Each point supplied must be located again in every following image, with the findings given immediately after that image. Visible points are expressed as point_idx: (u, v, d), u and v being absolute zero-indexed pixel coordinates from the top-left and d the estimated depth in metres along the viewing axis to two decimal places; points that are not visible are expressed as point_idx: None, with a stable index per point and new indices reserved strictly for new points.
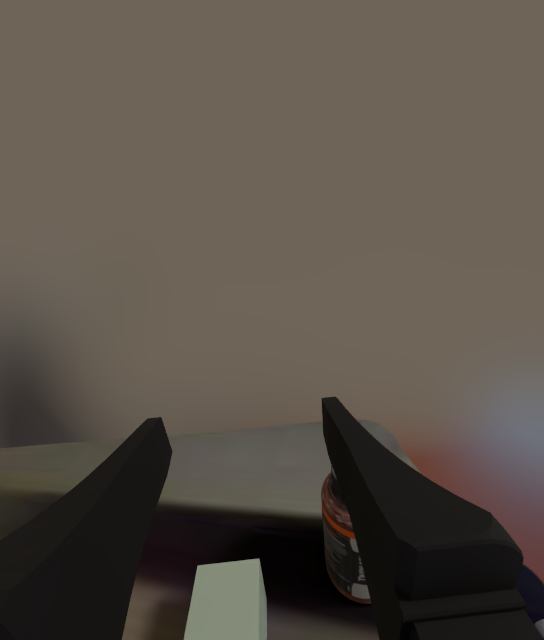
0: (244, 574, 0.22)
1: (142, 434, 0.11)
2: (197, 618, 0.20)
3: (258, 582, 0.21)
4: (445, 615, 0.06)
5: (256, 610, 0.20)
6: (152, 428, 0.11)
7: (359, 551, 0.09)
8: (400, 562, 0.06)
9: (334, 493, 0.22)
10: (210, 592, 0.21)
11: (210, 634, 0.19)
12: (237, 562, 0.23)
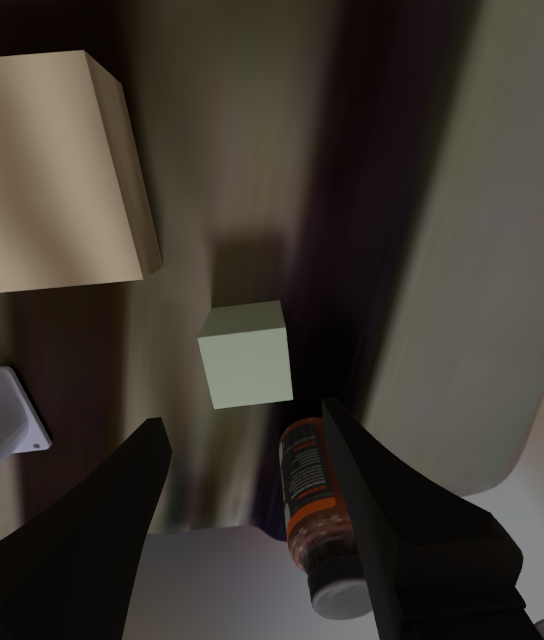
0: (275, 386, 0.17)
1: (142, 434, 0.11)
2: (228, 345, 0.16)
3: (267, 401, 0.18)
4: (445, 615, 0.06)
5: (240, 403, 0.18)
6: (152, 428, 0.11)
7: (359, 551, 0.09)
8: (400, 562, 0.06)
9: (330, 546, 0.16)
10: (255, 352, 0.16)
11: (216, 363, 0.17)
12: (290, 374, 0.17)
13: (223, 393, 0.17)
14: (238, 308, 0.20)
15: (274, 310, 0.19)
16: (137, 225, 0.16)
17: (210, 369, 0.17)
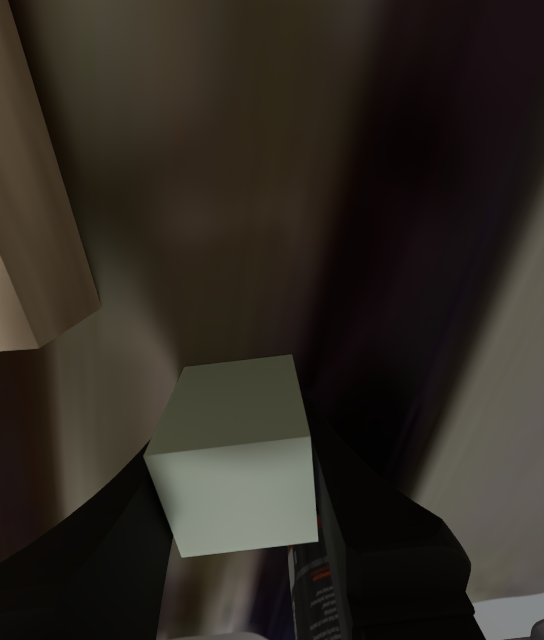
0: (288, 524, 0.10)
1: None
2: (203, 466, 0.09)
3: (274, 543, 0.10)
4: (394, 621, 0.06)
5: (227, 548, 0.10)
6: None
7: (327, 555, 0.09)
8: (348, 568, 0.06)
9: None
10: (252, 476, 0.09)
11: (182, 493, 0.09)
12: (315, 505, 0.10)
13: (197, 536, 0.10)
14: (226, 371, 0.12)
15: (285, 381, 0.11)
16: (30, 246, 0.08)
17: (171, 503, 0.09)
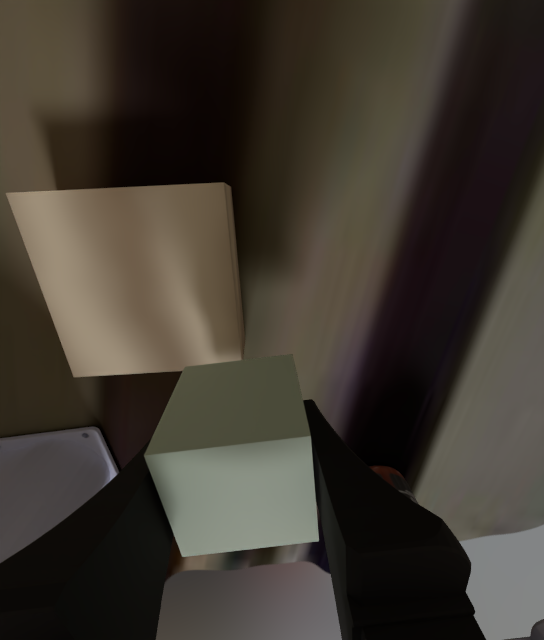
0: (288, 524, 0.10)
1: None
2: (204, 466, 0.09)
3: (275, 542, 0.10)
4: (394, 621, 0.06)
5: (228, 548, 0.10)
6: None
7: (327, 555, 0.09)
8: (349, 568, 0.06)
9: None
10: (252, 475, 0.09)
11: (182, 493, 0.09)
12: (315, 505, 0.10)
13: (197, 535, 0.10)
14: (226, 371, 0.12)
15: (285, 381, 0.11)
16: (239, 316, 0.17)
17: (172, 502, 0.09)
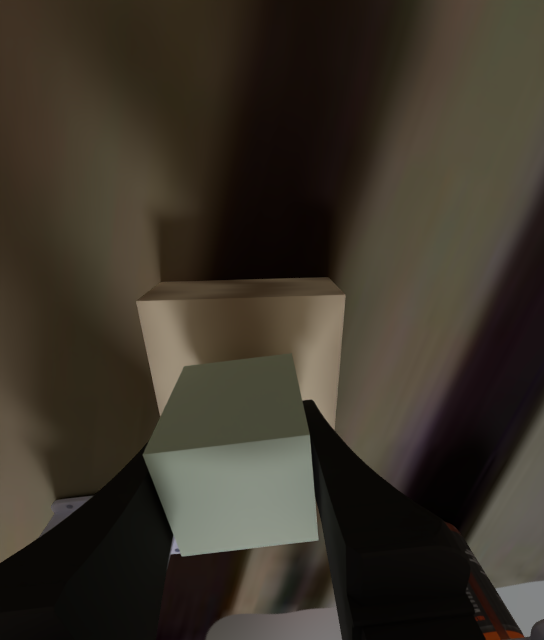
0: (287, 523, 0.10)
1: None
2: (202, 465, 0.09)
3: (274, 542, 0.10)
4: (394, 621, 0.06)
5: (227, 548, 0.10)
6: None
7: (328, 555, 0.09)
8: (349, 568, 0.06)
9: None
10: (251, 474, 0.09)
11: (181, 492, 0.09)
12: None
13: (196, 535, 0.10)
14: (226, 370, 0.12)
15: (285, 380, 0.11)
16: None
17: (171, 501, 0.09)
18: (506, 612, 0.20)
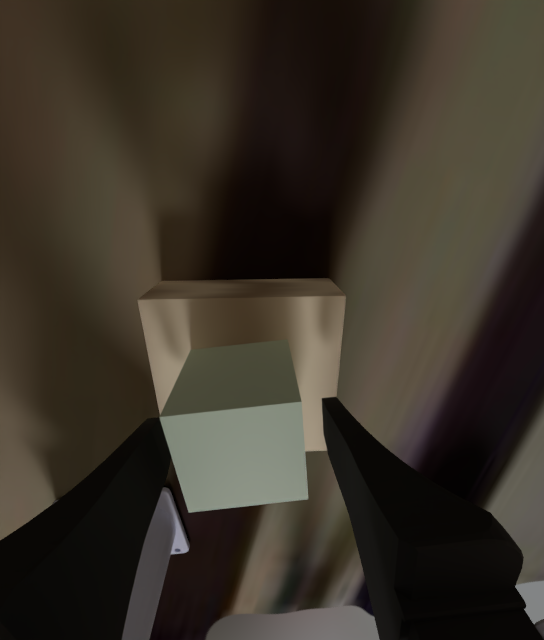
0: (281, 482, 0.11)
1: (142, 434, 0.11)
2: (210, 427, 0.10)
3: (270, 500, 0.12)
4: (445, 615, 0.06)
5: (229, 504, 0.12)
6: (152, 428, 0.11)
7: (359, 551, 0.09)
8: (400, 562, 0.06)
9: None
10: (251, 436, 0.10)
11: (190, 451, 0.11)
12: (305, 465, 0.11)
13: (202, 492, 0.11)
14: (228, 353, 0.14)
15: (281, 360, 0.13)
16: None
17: (181, 460, 0.11)
18: None
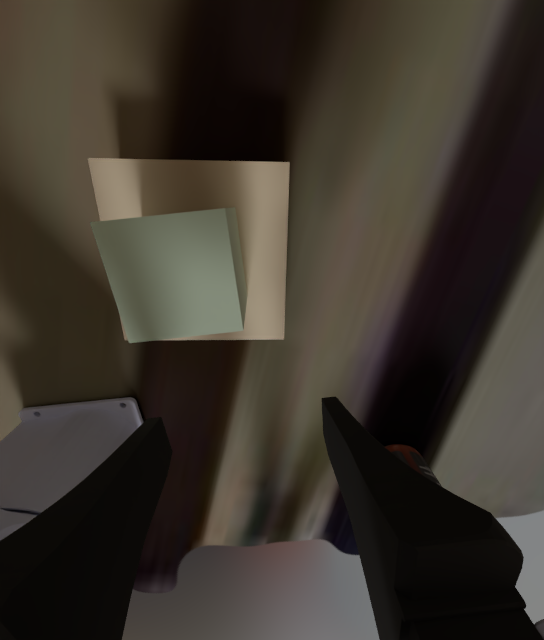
0: (215, 308, 0.12)
1: (142, 434, 0.11)
2: (140, 237, 0.11)
3: (206, 332, 0.12)
4: (445, 615, 0.06)
5: (167, 335, 0.12)
6: (152, 428, 0.11)
7: (359, 551, 0.09)
8: (400, 562, 0.06)
9: None
10: (181, 250, 0.11)
11: (124, 266, 0.11)
12: (237, 290, 0.12)
13: (140, 318, 0.12)
14: None
15: None
16: None
17: (116, 277, 0.11)
18: None
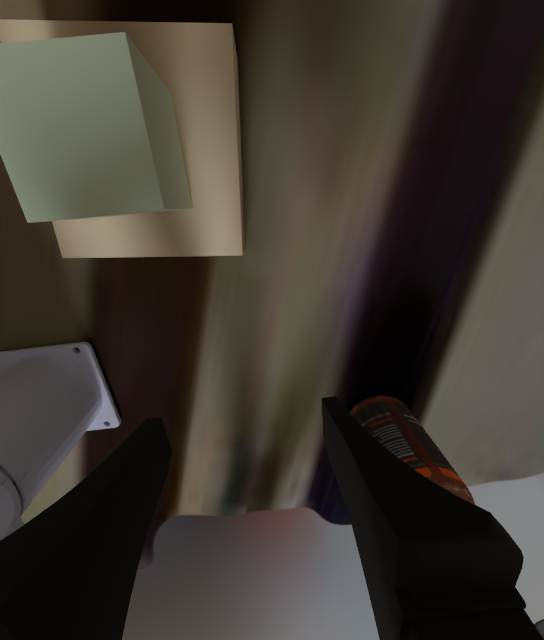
0: (127, 177, 0.10)
1: (142, 434, 0.11)
2: (23, 71, 0.09)
3: (121, 211, 0.10)
4: (445, 615, 0.06)
5: (72, 212, 0.10)
6: (152, 428, 0.11)
7: (359, 551, 0.09)
8: (400, 562, 0.06)
9: None
10: (77, 92, 0.09)
11: (9, 114, 0.09)
12: (152, 154, 0.10)
13: (37, 188, 0.10)
14: None
15: None
16: (241, 202, 0.16)
17: (0, 129, 0.09)
18: (443, 458, 0.19)
